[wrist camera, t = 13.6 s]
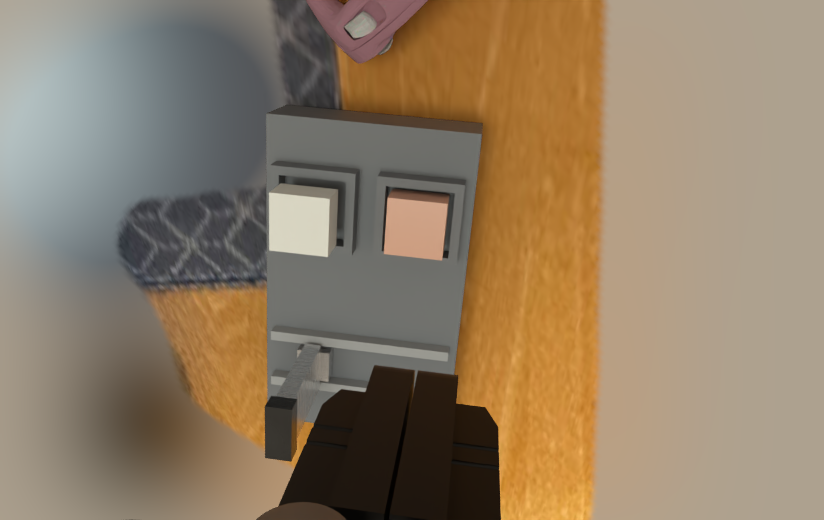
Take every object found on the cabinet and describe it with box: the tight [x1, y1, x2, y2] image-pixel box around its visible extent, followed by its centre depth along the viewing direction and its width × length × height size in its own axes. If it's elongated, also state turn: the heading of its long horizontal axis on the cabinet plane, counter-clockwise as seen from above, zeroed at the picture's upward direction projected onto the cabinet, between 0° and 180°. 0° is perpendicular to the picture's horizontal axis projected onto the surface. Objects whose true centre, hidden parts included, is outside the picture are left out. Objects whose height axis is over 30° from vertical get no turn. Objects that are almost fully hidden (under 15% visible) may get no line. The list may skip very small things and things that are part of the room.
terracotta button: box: [384, 189, 450, 261], centre depth 35 cm, size 3×3×2 cm
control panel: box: [266, 105, 483, 423], centre depth 39 cm, size 20×12×5 cm, turn 176°
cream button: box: [269, 183, 338, 257], centre depth 34 cm, size 3×3×2 cm
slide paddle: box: [265, 344, 333, 461], centre depth 36 cm, size 3×2×8 cm, turn 176°
